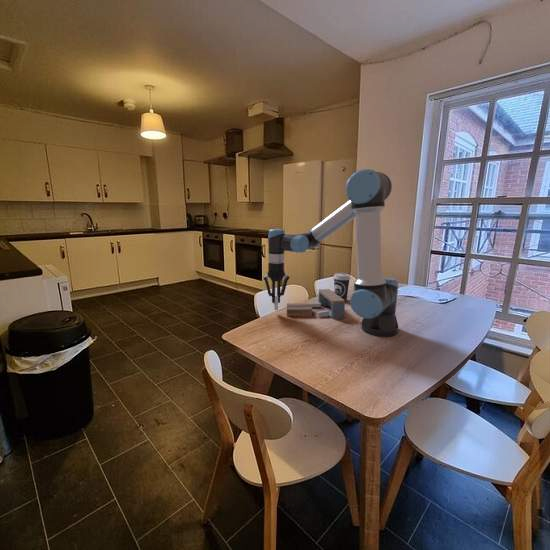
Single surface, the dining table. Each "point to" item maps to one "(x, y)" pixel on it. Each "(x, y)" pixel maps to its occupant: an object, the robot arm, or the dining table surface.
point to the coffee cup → (341, 284)
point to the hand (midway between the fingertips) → (275, 309)
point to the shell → (299, 309)
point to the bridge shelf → (330, 304)
